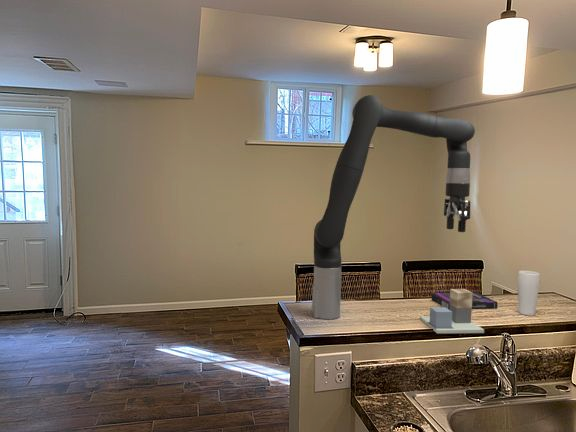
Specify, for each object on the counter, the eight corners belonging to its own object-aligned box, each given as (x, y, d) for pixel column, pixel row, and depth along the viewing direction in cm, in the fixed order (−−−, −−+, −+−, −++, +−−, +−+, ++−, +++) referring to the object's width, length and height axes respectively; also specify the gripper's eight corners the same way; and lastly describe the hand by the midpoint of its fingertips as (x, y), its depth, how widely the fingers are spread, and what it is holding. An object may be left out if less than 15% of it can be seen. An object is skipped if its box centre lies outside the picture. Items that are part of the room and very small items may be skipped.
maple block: (457, 308, 143) (457, 292, 143) (449, 303, 148) (450, 289, 148) (471, 307, 144) (472, 292, 143) (464, 303, 149) (464, 288, 148)
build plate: (437, 333, 136) (437, 314, 136) (419, 319, 150) (420, 301, 150) (484, 332, 138) (485, 313, 137) (462, 318, 152) (463, 301, 151)
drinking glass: (536, 312, 160) (539, 271, 159) (538, 317, 154) (540, 275, 153) (515, 310, 163) (517, 269, 162) (516, 315, 157) (518, 273, 156)
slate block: (436, 327, 138) (436, 312, 138) (429, 322, 143) (430, 307, 143) (451, 327, 139) (452, 311, 138) (444, 322, 144) (445, 307, 143)
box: (447, 312, 162) (498, 310, 165) (448, 303, 162) (498, 301, 164) (431, 301, 176) (477, 299, 178) (431, 292, 176) (477, 291, 178)
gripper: (438, 181, 155) (436, 228, 157) (456, 182, 141) (454, 233, 143) (458, 182, 156) (456, 228, 157) (479, 182, 142) (476, 233, 143)
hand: (455, 230), depth 150 cm, fingers open, 8 cm apart
